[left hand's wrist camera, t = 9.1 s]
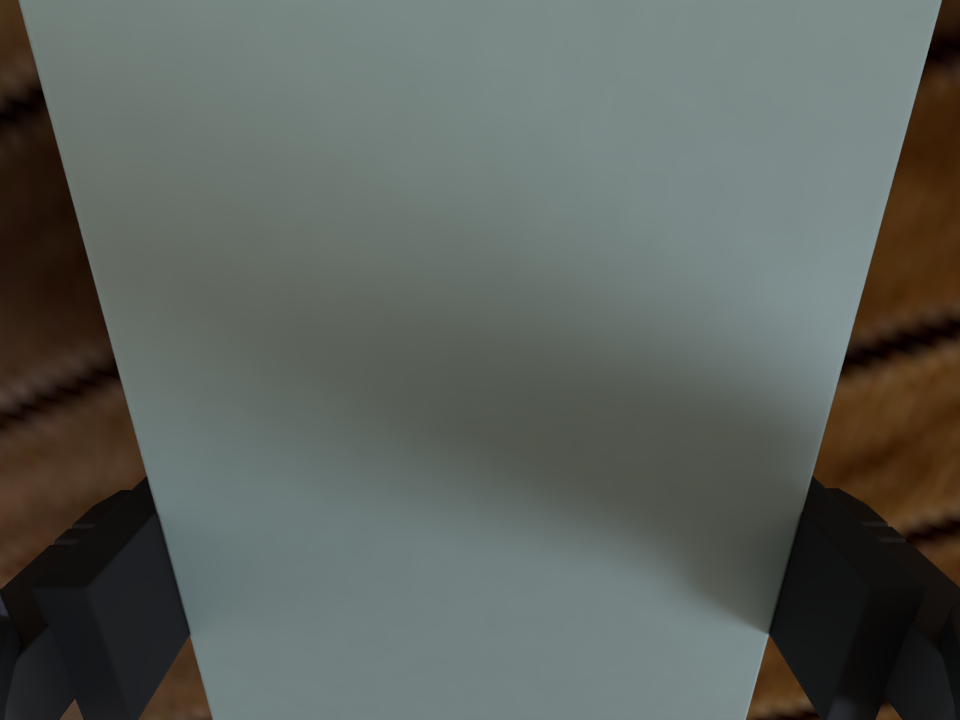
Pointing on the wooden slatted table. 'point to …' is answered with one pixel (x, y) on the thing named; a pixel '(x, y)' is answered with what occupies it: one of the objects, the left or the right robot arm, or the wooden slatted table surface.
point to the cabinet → (479, 327)
